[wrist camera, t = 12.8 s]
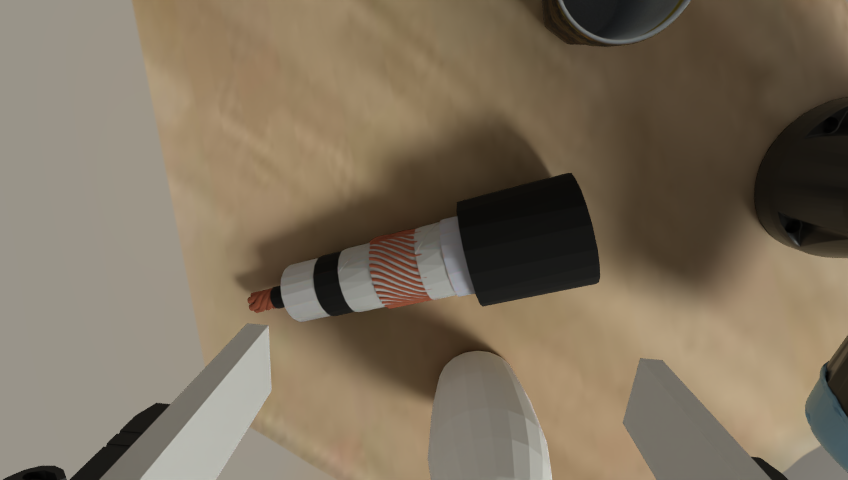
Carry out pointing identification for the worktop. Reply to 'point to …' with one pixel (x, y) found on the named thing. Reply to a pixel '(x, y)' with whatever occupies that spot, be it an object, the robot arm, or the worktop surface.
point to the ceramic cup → (609, 20)
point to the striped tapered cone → (454, 257)
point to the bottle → (484, 424)
